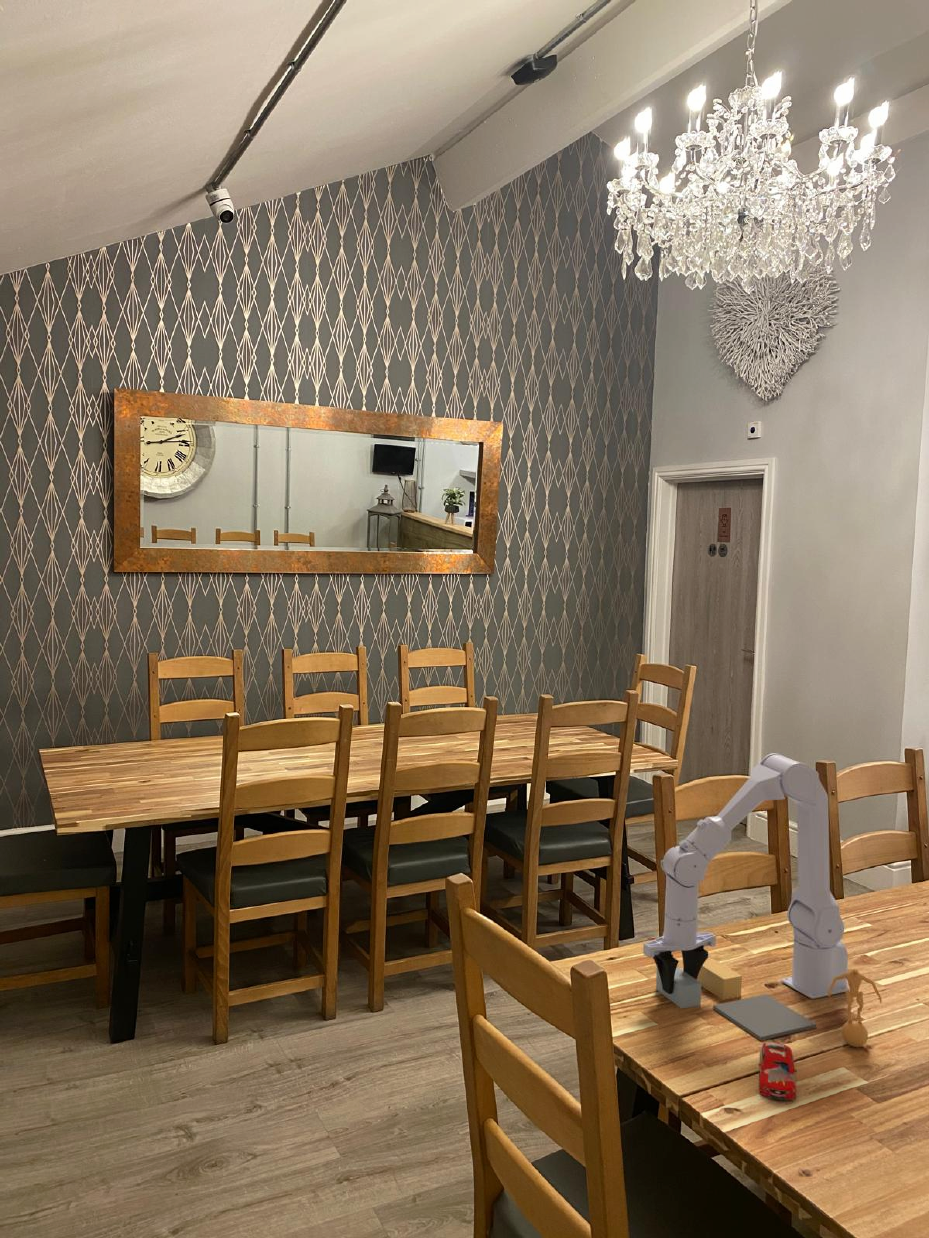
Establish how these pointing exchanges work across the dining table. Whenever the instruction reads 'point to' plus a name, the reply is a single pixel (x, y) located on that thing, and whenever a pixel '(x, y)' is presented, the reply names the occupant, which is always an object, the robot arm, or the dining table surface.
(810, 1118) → the dining table surface
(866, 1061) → the dining table surface
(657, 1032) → the dining table surface
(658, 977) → the slate brick
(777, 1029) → the mat
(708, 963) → the ochre brick
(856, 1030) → the figurine
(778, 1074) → the race car
